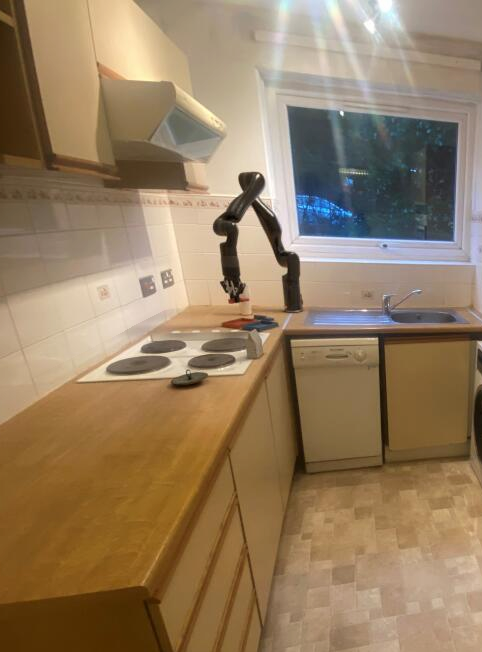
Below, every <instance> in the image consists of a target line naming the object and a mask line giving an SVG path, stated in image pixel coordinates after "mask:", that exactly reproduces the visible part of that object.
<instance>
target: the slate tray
mask: <svg viewBox="0 0 482 652" xmlns="http://www.w3.org/2000/svg"><path fill="white" fill-rule="evenodd" d="M277 327H279V322H278V321H264V320H258V321H257V322H253V323H250V324H246V325H242V328H241V329H242V330H243V331H250V332H251V331H252V330H254V329H256V331H257V332H259V333H260V332H264V331H267V330H271V329H273V328H277Z"/></svg>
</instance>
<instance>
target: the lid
mask: <svg viewBox="0 0 482 652" xmlns="http://www.w3.org/2000/svg"><path fill="white" fill-rule="evenodd" d="M188 372H189V373H188ZM208 376H209V374H208V373H207V372H203V371H195V372H194V371H193V372H191V370H190V369H186V370H185V374H181V375H179V376H176V377H174V378H172V379H171V381H170V384H172V385H174V386H189V385H193V384H197V383H200V382H202V381H203V380H205V379H207V378H208Z"/></svg>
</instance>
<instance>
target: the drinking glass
mask: <svg viewBox="0 0 482 652" xmlns="http://www.w3.org/2000/svg"><path fill="white" fill-rule="evenodd" d="M236 292H237V290H236ZM239 297H240V298H249V301H246V302H239V303H238V306H239V310H240V315H242V316H250V315H252V313H253V312H252V291H251V286H249V285H246V286H245V288H244V291H243V294H240V295H239Z"/></svg>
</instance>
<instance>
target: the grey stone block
mask: <svg viewBox="0 0 482 652" xmlns="http://www.w3.org/2000/svg"><path fill="white" fill-rule="evenodd" d="M244 344H245V351H246V358H247V359H259V358H260V357H261V356H262V355H264V348H263V339H262V337H261V336H260V334H259V333H258V331H256V329H254V330H252V331H251V330H250V331H249V332H248V335H247V338H246V341H245V343H244Z"/></svg>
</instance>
